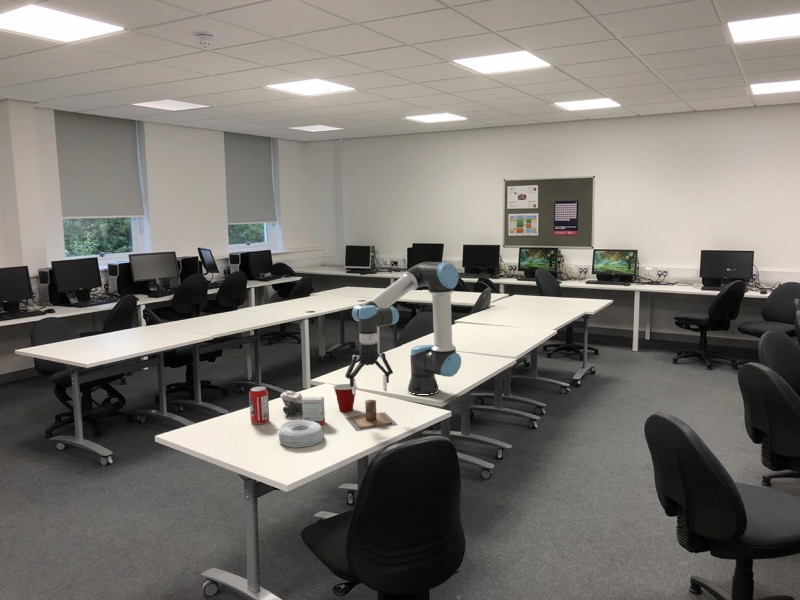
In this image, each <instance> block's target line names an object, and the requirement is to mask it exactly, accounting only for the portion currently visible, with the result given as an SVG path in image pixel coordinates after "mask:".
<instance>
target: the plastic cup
mask: <svg viewBox="0 0 800 600" xmlns="http://www.w3.org/2000/svg"><path fill="white" fill-rule="evenodd" d="M357 388H358V384H356V389H357ZM333 389H334V391H335V396H336V402H337V405H338V409H339V410H338V411H339V412H341V413H351V412H352V411H354V404H355V398H356V397H355V396H356V395H354V394H353V393H352V387H351V386H350V383H340V384H335V385H334V386H333Z"/></svg>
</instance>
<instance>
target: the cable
mask: <svg viewBox="0 0 800 600" xmlns="http://www.w3.org/2000/svg"><path fill="white" fill-rule="evenodd" d="M323 438H324V432H323V429H322V426H320V425H319V424H318V423H316V422H312V421H307V420H303V419H297V420H296V419H294V420H290V421H286V422H284V423H282V424H281V425H280V427H279V428H278V441H279V442H280V444H281V445H283V446H285V447H289V448H292V449H293V448H294V449H295V448H297V449H298V448H304V447H306V448H307V447H311V446H315V445H317V444H319V443H321V442H323Z"/></svg>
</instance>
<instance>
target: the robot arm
mask: <svg viewBox="0 0 800 600" xmlns="http://www.w3.org/2000/svg"><path fill="white" fill-rule="evenodd" d="M458 283H459V272H458V270H457V267H455V266H454V264H452V263H449V262H444V261H443V262H441V261H424V262H423V261H422V262H421V263H417V264H415V265H413V266H411V268H409V269H407V270H406V271H404V272H403V273H402V274H401V277H399V279H396V281H394V282H393V283H392V284H390V285H389V286H387V287H386V288H384V289H383V290H382V291H380V292H379V293H378V294H376V295H375V296H374V297H373V298H371V299H370V300H368V301H367V302H366V303H364V304H357V305H355V306H354V307H353V308H352V311H351V316H352V318H353V320H354V321H356V322H358V329H359V330H358V331H359V336H358V338H359V355H356V354H353V355H352V356H351V361H350V364H349V366H348V368H347V371H346V373H345V375H344V377H345V378H346V379H348V380H349V384H350V386H351V387H352V393H353V394H354V395H355V396H356V395H357V392H356V391H357V388H356V385H357V384H356V378H355V377H356V376H357V375H358V374H359V372H360V371H361V370H362V368H363V367H364V366H369V365H370V366H372V365H374V364H375V365H376V366H377V368H379V370H381V372H382V373H383V374H382V390H383V391H384V392H388V384H389V383H390V379H389V378H390V375H393V374H394V371H393V370H392V367H391V366H390V363H389V362H388V360H387V358H386V353H385V352H382V351H381V352H380V353H379V349H378V347H379V346H378V328H380V327H387V326H393V325H395V324H397V323H398V322H399V319H400V314H399V311H398V309H397V308H395V307H394V306H392V305H393V304H395V303H396V302H397V301H398V300H400V299H401V298H403V297H404V296H405V295H406V294H408V293H409V292H410V291H415V290H417V289H418V288H422V287H428V293H430V295H431V296H432V317H433V318H432V319H433V321H432V322H433V323H432V324H433V343H434V344H422V345H421V344H420V345H416V346H413V347H412V348H411V349H410V355H409V357H410V378H409V379H410V380H409V383H408V386H407V392H408V391H409V392H411V393H415V394H431V393H435V392H437V391H438V392H439V385H438V382H437V379H436V375H438V376H442V377H448V378H451V377H454V376H455V375H456V374H457V373H458V372H459V371H460V368H461V365H462V357H461V355H460V354H459V353H458V352H457V350H456V346H455V345H454V344H453V328H452V325H453V324H452V320H453V319H452V300H451V299H452V297H451V294H453V292H454V291H455V290H454V288H456V286H457V285H458ZM378 359H381V361H382V363H383V364H384V366H385V368H386V369H387V370H386V369H385V368H384V367H383V365H382V364H381V363H380V362H379V361H378ZM358 360H360V361H359V363H358V365H357V366H356V364H357V361H358ZM355 366H356V367H355ZM354 368H355V369H354ZM409 392H408V393H409Z"/></svg>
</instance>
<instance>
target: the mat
mask: <svg viewBox="0 0 800 600" xmlns="http://www.w3.org/2000/svg"><path fill="white" fill-rule="evenodd" d="M382 413H383V414H384V415H385V416H386V417H387V418H388V419H389V420H390V421H391V422H392V424H390V425H383V426H377V427H370V428H363V429H360V428H359V427H358V426H357V425H356V424H355V423H354V421H353V420H352V419H351V417H352V416H348V417H345V419H346V420H347V422H348V423H349V424H350V425H351V426H352V427H353V429H354V430H355V431H356V432H361V431H368V430H374V429H375V430H376V429H381V428H382V429H383V428H389V427H395V426H399V424H398V423H397V422H396V421H395V420H393V419H392V418H391V417H390V415H388V414H387V413H386V411H385V412H382Z"/></svg>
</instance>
